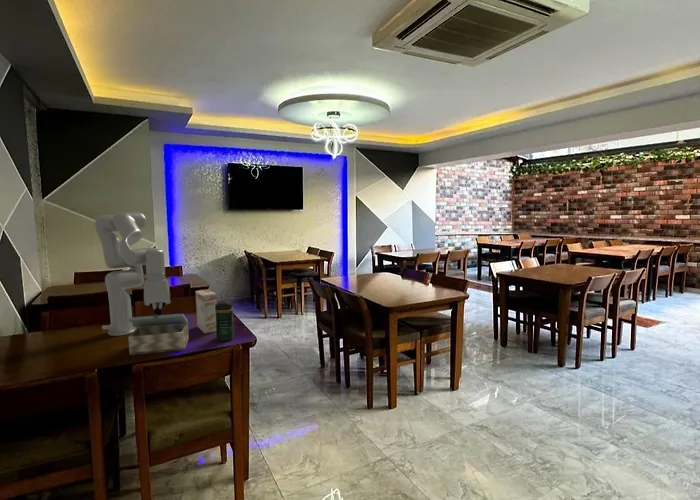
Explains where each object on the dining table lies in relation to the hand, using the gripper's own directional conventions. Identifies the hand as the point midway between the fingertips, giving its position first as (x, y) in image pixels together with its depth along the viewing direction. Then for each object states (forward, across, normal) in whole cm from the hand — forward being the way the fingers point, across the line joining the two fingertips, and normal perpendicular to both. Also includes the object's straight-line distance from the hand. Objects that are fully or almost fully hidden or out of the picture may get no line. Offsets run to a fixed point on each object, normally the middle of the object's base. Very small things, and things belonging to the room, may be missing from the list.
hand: (158, 317), depth 179 cm
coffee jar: (+14, +28, +4) cm, 32 cm away
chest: (+14, 0, 0) cm, 14 cm away
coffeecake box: (+14, +18, +23) cm, 32 cm away
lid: (+2, 0, 0) cm, 2 cm away
